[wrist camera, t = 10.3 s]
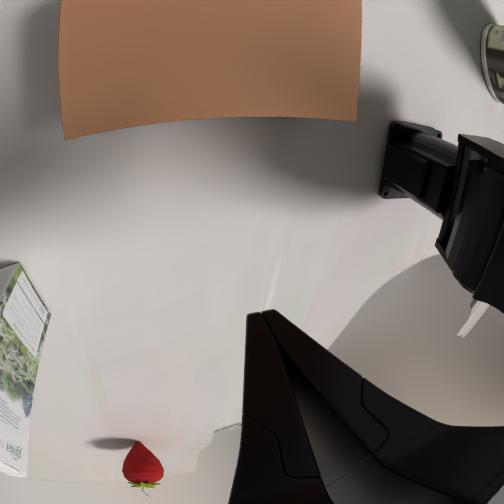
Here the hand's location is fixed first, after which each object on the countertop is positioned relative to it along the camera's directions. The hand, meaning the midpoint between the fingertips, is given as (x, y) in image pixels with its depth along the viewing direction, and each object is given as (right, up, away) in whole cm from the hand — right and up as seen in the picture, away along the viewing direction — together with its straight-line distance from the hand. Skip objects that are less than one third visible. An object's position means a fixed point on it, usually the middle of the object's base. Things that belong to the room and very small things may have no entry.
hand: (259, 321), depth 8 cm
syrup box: (-20, -1, +9) cm, 22 cm away
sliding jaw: (-3, +13, +3) cm, 14 cm away
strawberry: (-18, -29, +28) cm, 44 cm away
